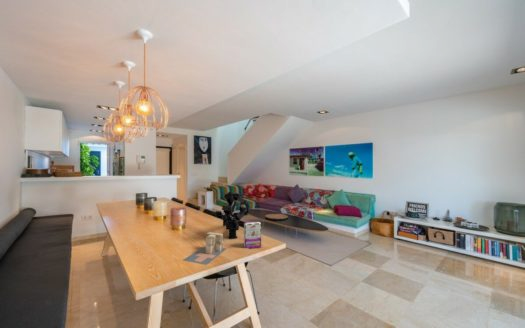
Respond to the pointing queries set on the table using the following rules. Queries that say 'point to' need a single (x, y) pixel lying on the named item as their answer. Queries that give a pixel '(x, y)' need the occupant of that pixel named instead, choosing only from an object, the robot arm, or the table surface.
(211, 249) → the maple T block
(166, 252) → the table surface
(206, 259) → the slate board
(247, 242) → the candy bar box
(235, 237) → the robot arm
